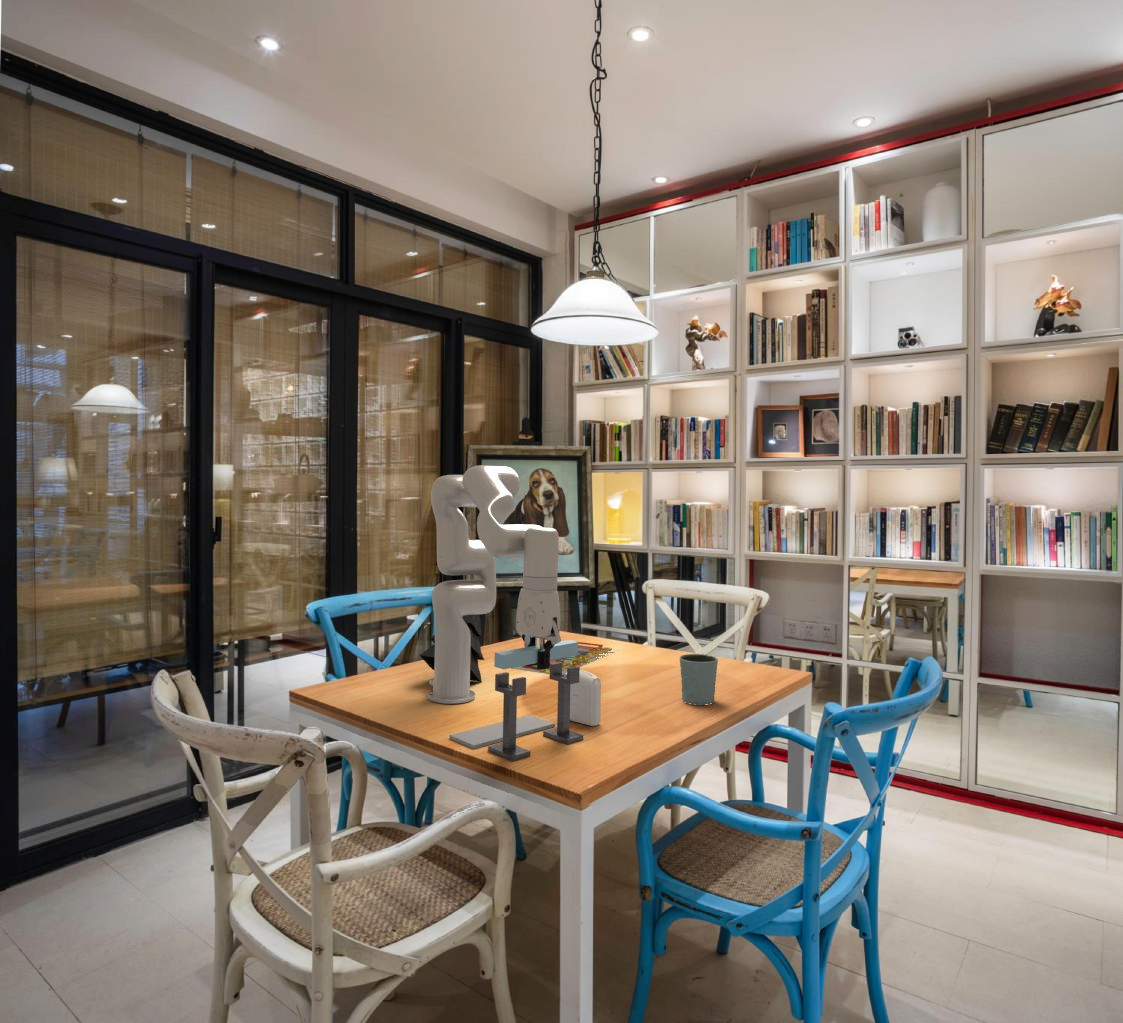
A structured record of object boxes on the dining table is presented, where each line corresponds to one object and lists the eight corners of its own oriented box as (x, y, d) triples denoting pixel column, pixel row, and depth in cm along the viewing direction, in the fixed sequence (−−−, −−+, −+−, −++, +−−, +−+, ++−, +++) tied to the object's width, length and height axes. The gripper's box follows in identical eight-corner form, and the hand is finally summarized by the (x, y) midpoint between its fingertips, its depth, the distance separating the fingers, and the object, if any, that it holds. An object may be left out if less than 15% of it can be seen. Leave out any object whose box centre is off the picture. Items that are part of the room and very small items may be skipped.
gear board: (559, 669, 227) (506, 661, 236) (559, 677, 227) (506, 669, 236) (618, 644, 267) (571, 639, 276) (618, 651, 267) (571, 645, 276)
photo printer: (559, 718, 183) (560, 668, 183) (571, 715, 186) (572, 666, 186) (591, 728, 176) (592, 676, 176) (603, 724, 179) (604, 673, 179)
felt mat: (449, 738, 166) (449, 735, 166) (529, 718, 183) (529, 714, 183) (473, 749, 160) (473, 745, 159) (554, 726, 176) (554, 723, 176)
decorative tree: (478, 695, 215) (511, 590, 233) (458, 674, 204) (494, 565, 222) (434, 689, 220) (470, 586, 239) (412, 668, 209) (451, 563, 227)
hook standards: (488, 751, 158) (489, 674, 158) (558, 731, 173) (560, 660, 173) (512, 761, 153) (513, 681, 152) (583, 739, 167) (585, 666, 167)
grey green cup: (721, 700, 203) (722, 656, 203) (709, 709, 194) (710, 663, 194) (686, 694, 208) (687, 652, 208) (673, 702, 199) (674, 658, 199)
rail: (494, 666, 156) (494, 652, 156) (568, 652, 172) (569, 639, 171) (503, 669, 154) (503, 655, 154) (577, 655, 169) (578, 642, 169)
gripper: (503, 580, 166) (500, 662, 166) (553, 589, 154) (550, 677, 154) (528, 578, 171) (525, 657, 171) (578, 587, 159) (575, 672, 160)
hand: (537, 666), depth 163 cm, fingers closed on rail, 3 cm apart
